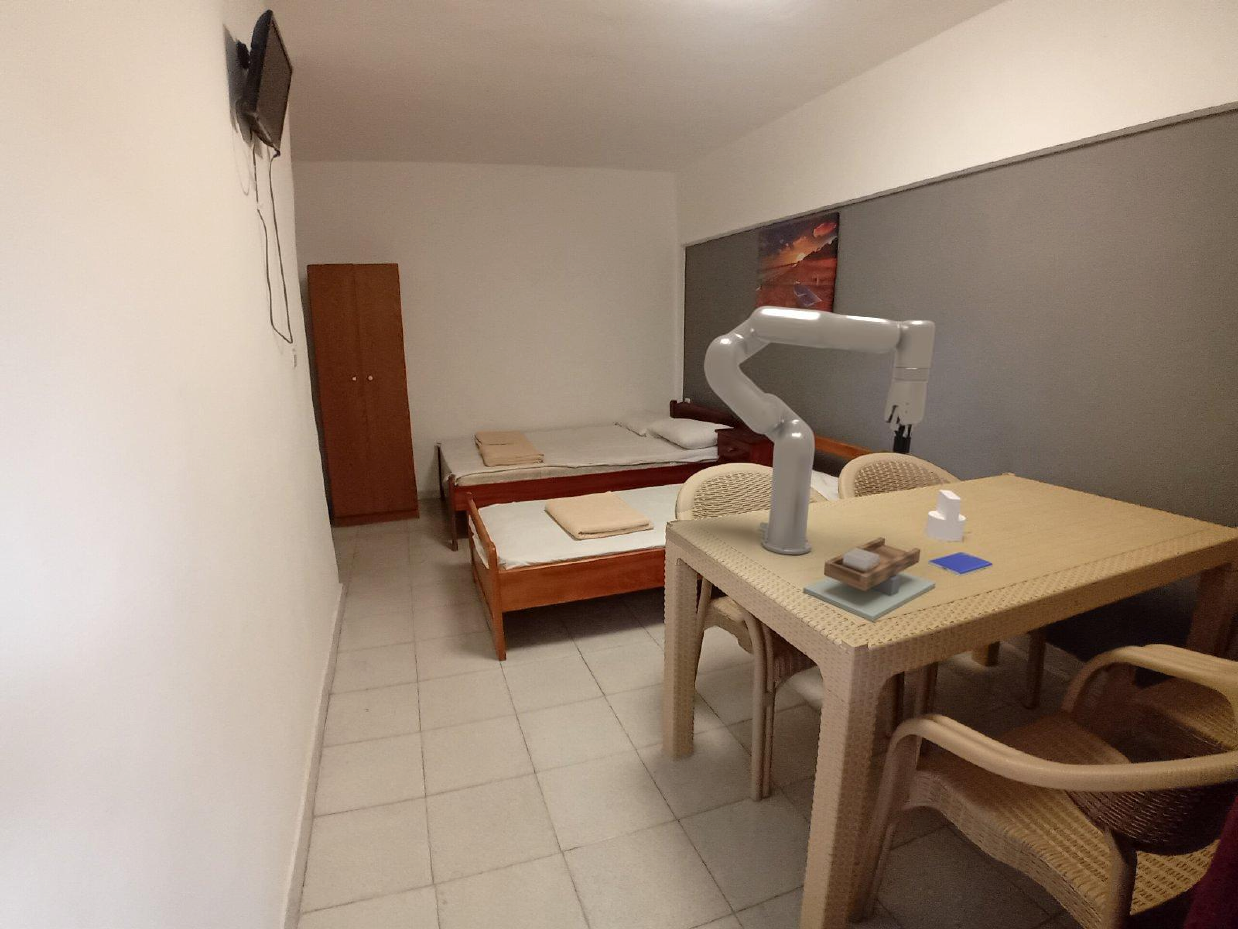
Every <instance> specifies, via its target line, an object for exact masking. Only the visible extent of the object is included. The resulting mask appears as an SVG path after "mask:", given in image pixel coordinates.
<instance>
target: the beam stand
mask: <svg viewBox="0 0 1238 929" xmlns="http://www.w3.org/2000/svg"><path fill="white" fill-rule="evenodd" d="M935 587H936V582H935V581H931V580H929V579H926V578H922V577H919V576H916V575H914V574H911V573H908V572H905V571H901V572H899V573H897V574H896V575H894V576H892V577H890V578H888V579H886V580H884V581H882V582H881V583H879V584H877V585H875V586H873V587H871V588H869V589H867V590H866V591H863V590H861V589H858V588H856V587H853V586H851V585H848V584H846V583H843V582H840V581H838V580H835V579H833V578H830V577H828V576H826V577H824V578H822V579H821V580H819V581H815V582H813V583H811V584H808V585H806V586H804V587H803V590H802V592H803V593H804V594H808V595H810V596H812V597H813V598H816V599H819V600H822V601H824V602H825V603H826V602H827V603H828V604H831V605H833V606H836V607H837V608H839V609H843V610H845V611H847V612H850V613H851V614H854V615H855V616H856V615H857V616H859V617H861V618H862V619H865V620H868V621H870V622H873V621H875V620H877V619H879V618H881V617H883V616H884V615H886V614H888V613H890V612H892V611H893V610H895V609H897V608H899V607H901V606H903V605H905V604H907V603H909V602H910V601H912V600H914V599H916V598H918V597H919V596H921V595H923V594H924V593H927V592H928V591H930V590H932V589H934V588H935Z"/></svg>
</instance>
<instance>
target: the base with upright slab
mask: <svg viewBox="0 0 1238 929" xmlns="http://www.w3.org/2000/svg"><path fill="white" fill-rule="evenodd" d="M961 505H962V499H961V498H960V497H959V496H958V495H957V494H956V493H954V492H953V491H952V490H945V489H939V490H938V495H937V501H936V508H935V510H930V511H928V514H927V518H926V519H927V521H926V527H925V535H926V536H927V537H928V538H930V537H931V539H932V538H933V540H935V539H937V540H936V541H939V540H940V541H939V542H944V541H949V542H948V543H955V542H954V541H959V542H961V540H962V541H963V537H964V530H965V525H966V516H964V515H962V514H961V513H960V511H961ZM950 541H951V542H950Z"/></svg>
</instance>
